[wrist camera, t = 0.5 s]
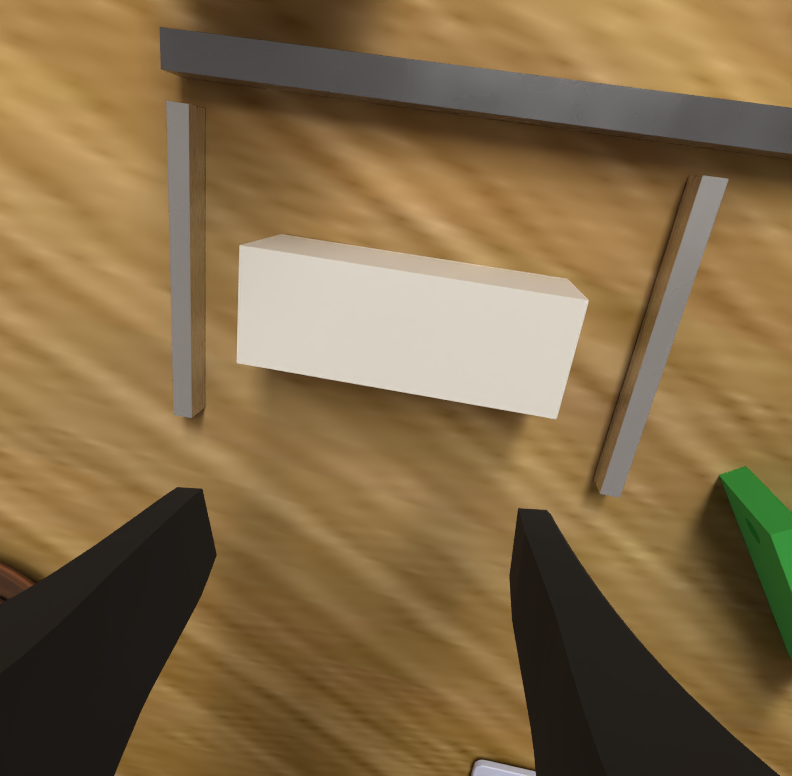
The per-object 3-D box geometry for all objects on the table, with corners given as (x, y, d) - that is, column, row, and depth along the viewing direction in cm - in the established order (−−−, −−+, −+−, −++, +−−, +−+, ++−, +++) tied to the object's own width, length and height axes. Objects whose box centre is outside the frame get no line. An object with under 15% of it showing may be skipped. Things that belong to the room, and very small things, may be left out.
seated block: (542, 378, 21) (556, 419, 18) (276, 332, 22) (236, 363, 18) (567, 278, 20) (588, 300, 16) (281, 234, 21) (239, 245, 17)
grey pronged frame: (1073, 566, 21) (1115, 593, 20) (187, 404, 24) (170, 417, 23) (1358, 190, 16) (1442, 191, 15) (183, 38, 19) (159, 27, 17)
